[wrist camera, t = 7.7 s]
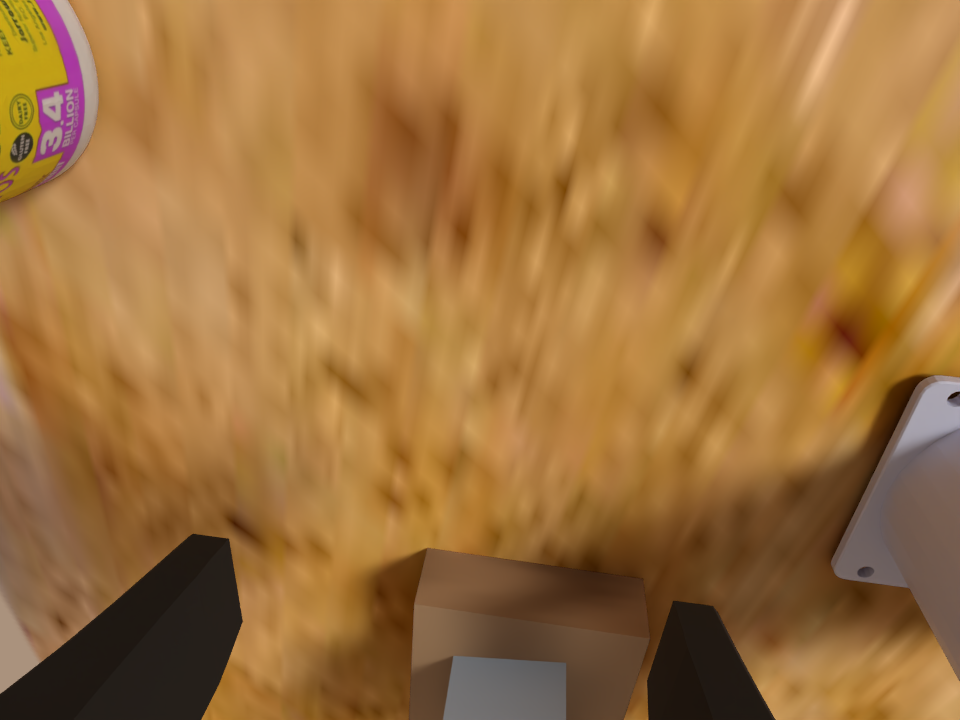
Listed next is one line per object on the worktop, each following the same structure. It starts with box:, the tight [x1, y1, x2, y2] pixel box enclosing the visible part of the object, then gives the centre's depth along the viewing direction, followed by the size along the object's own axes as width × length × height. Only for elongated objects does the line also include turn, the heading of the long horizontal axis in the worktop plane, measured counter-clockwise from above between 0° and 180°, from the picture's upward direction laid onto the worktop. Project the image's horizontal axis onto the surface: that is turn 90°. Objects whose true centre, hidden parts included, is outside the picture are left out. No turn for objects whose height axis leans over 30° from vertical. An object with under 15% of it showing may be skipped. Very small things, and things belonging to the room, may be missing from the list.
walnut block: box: [409, 548, 650, 720], centre depth 26 cm, size 8×8×3 cm
